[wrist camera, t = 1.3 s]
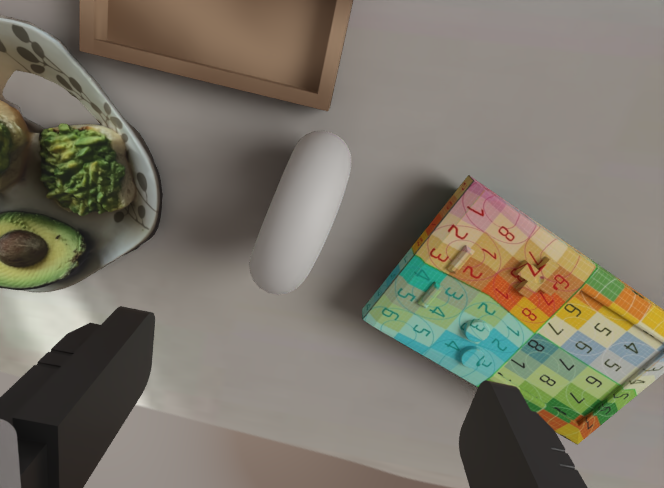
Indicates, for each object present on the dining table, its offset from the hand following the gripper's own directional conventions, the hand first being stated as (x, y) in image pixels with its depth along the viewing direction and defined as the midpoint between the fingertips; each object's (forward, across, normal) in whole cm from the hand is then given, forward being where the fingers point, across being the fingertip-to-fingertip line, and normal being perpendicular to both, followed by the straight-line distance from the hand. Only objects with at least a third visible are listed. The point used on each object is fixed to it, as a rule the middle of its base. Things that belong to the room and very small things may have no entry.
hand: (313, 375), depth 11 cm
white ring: (+21, +2, +1) cm, 21 cm away
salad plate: (+22, +20, +4) cm, 30 cm away
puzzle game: (+21, -15, +6) cm, 27 cm away
